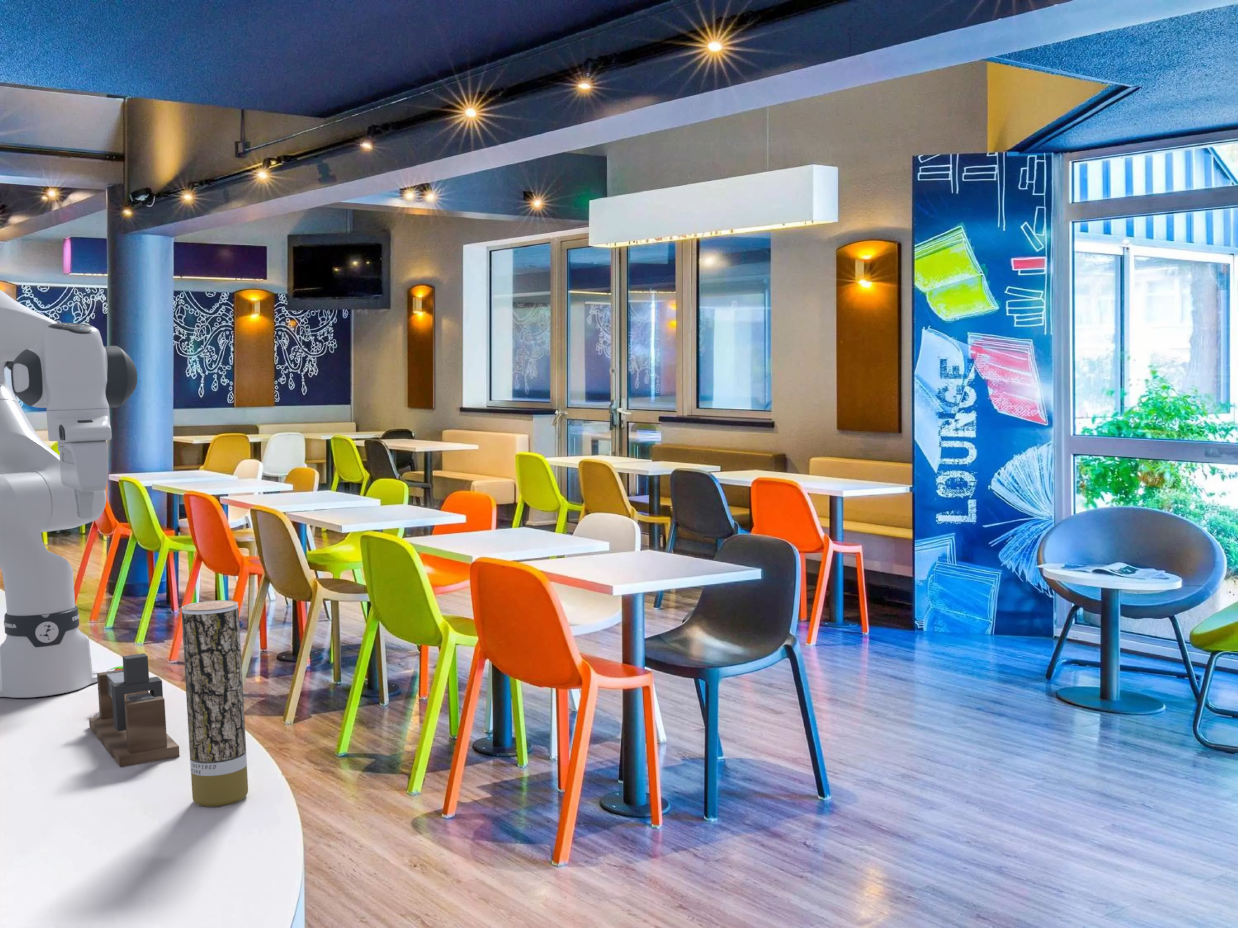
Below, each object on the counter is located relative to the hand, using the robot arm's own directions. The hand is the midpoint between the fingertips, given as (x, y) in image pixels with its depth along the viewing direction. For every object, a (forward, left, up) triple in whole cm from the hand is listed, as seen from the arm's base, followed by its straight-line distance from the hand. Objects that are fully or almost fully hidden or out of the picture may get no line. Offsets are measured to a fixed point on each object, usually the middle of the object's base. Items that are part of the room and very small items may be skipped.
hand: (85, 517), depth 186 cm
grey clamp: (+17, +3, -29) cm, 34 cm away
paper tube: (+46, +7, -33) cm, 57 cm away
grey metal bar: (+11, +3, -28) cm, 30 cm away
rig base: (+11, +3, -33) cm, 35 cm away
